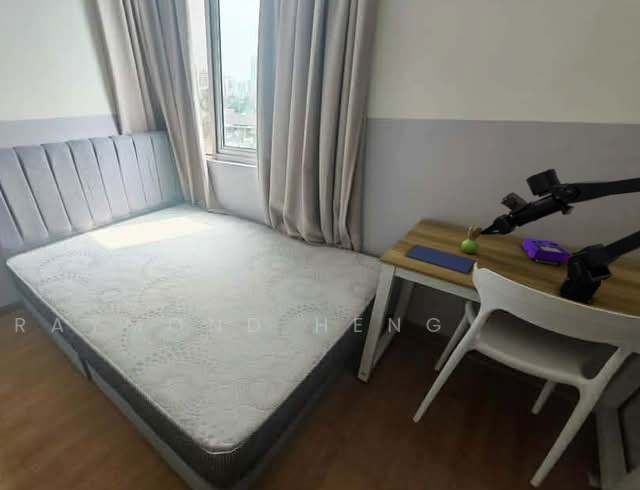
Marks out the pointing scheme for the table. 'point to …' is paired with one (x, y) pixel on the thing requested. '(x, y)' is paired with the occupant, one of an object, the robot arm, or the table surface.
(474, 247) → the snail figurine
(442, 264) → the navy cloth
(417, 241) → the table surface
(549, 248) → the handheld gaming console
